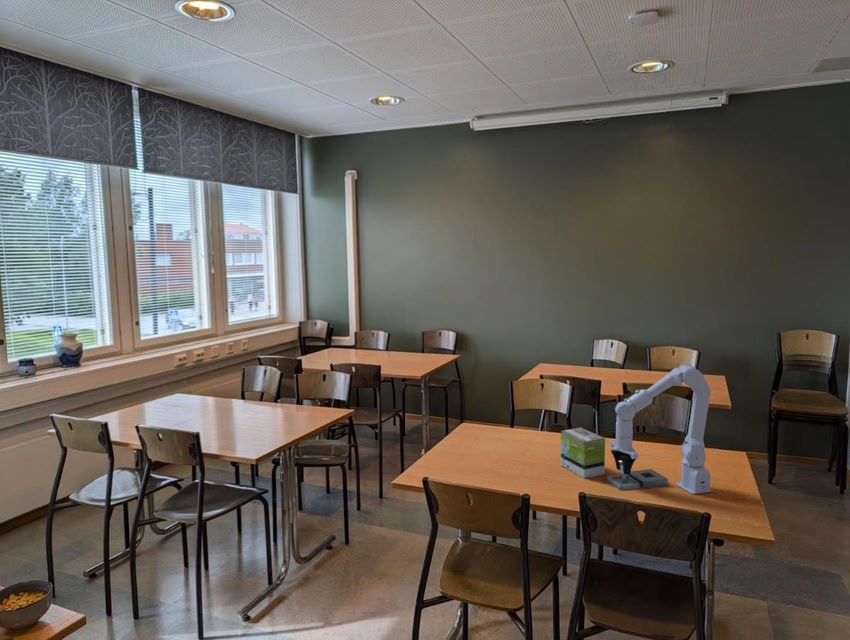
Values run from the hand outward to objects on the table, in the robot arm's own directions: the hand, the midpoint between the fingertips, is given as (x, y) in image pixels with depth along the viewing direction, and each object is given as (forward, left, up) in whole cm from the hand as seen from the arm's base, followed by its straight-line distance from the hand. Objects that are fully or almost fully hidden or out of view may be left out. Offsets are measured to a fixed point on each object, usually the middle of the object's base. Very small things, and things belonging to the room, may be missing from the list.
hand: (623, 471), depth 213 cm
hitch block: (-1, -10, -5) cm, 11 cm away
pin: (0, -1, -3) cm, 4 cm away
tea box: (+16, +7, -5) cm, 19 cm away
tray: (0, 0, -5) cm, 5 cm away
